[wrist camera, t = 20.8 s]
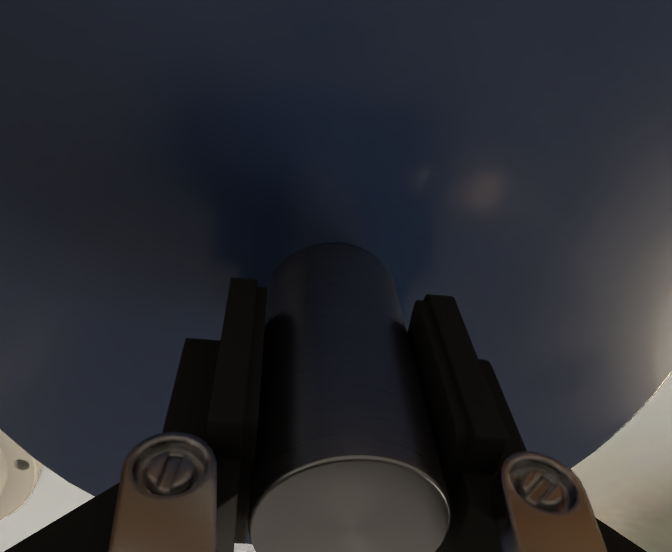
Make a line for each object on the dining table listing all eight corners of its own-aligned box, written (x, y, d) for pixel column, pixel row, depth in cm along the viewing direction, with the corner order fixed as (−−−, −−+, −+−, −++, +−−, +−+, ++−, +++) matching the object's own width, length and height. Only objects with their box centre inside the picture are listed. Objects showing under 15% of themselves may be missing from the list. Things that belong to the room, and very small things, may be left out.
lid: (-2, 507, 19) (-142, 799, 13) (-209, -281, 9) (-1133, -593, 3) (570, 521, 21) (683, 781, 15) (878, -121, 11) (1555, -134, 5)
